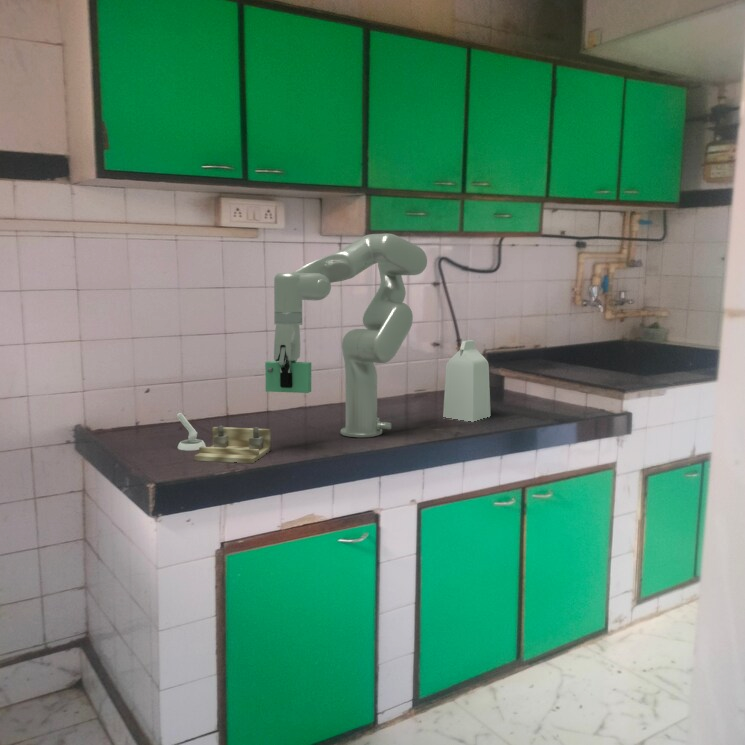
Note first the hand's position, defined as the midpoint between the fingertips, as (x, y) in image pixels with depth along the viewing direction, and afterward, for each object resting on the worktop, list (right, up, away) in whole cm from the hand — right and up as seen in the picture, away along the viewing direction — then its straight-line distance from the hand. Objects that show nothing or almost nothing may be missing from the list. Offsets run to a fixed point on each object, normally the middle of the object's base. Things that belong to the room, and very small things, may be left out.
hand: (288, 385), depth 197 cm
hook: (-27, -17, +4) cm, 33 cm away
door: (0, -2, 0) cm, 2 cm away
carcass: (-14, -18, -6) cm, 24 cm away
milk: (+55, -12, +47) cm, 73 cm away
